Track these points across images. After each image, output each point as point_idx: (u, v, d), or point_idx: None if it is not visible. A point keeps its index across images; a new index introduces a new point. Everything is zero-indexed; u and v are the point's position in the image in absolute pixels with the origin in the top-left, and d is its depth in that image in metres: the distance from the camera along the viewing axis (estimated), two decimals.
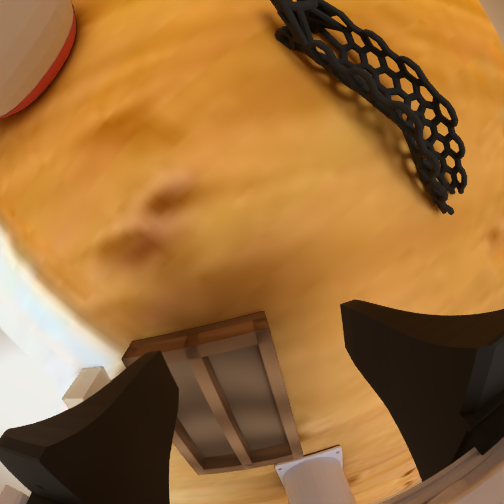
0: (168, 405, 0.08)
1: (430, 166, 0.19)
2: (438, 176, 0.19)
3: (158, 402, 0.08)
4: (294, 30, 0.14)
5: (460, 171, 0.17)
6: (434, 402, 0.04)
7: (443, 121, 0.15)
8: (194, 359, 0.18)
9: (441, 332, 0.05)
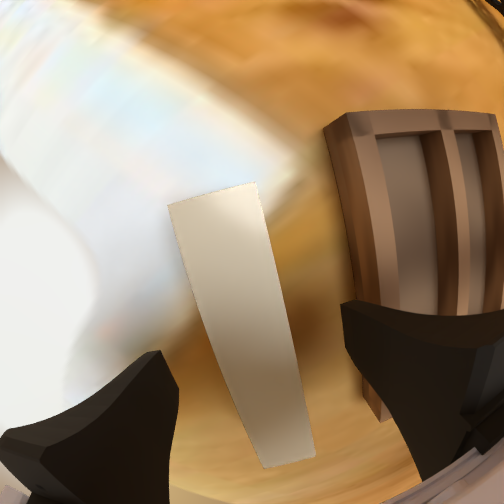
0: (168, 405, 0.08)
1: None
2: None
3: (158, 402, 0.08)
4: None
5: None
6: (434, 402, 0.04)
7: None
8: (447, 131, 0.09)
9: (441, 332, 0.05)
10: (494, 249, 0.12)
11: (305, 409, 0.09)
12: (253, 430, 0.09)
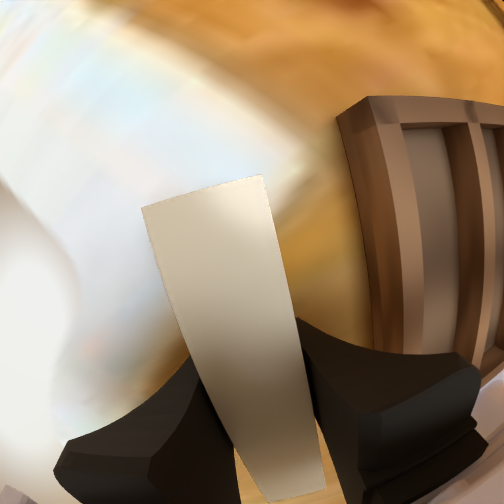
0: None
1: None
2: None
3: None
4: None
5: None
6: (342, 445, 0.04)
7: None
8: (473, 124, 0.07)
9: (352, 373, 0.05)
10: None
11: (317, 448, 0.07)
12: (257, 470, 0.07)
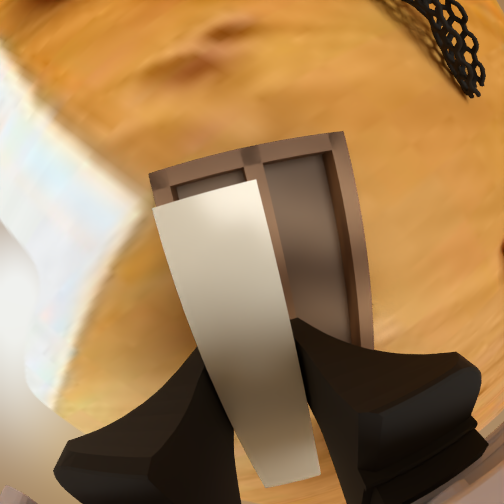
0: None
1: (452, 59, 0.15)
2: (460, 69, 0.15)
3: None
4: None
5: (478, 63, 0.13)
6: (342, 446, 0.04)
7: (456, 19, 0.11)
8: (252, 165, 0.14)
9: (352, 373, 0.05)
10: (347, 268, 0.17)
11: (311, 431, 0.08)
12: (254, 453, 0.08)
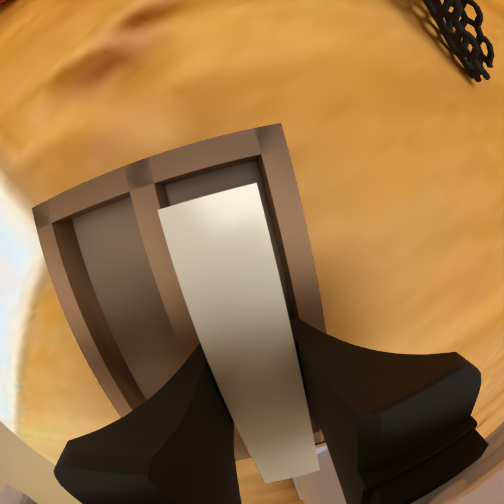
0: None
1: None
2: None
3: None
4: None
5: (484, 39, 0.09)
6: (342, 446, 0.04)
7: None
8: (141, 189, 0.09)
9: (352, 373, 0.05)
10: None
11: (309, 426, 0.08)
12: (254, 447, 0.08)
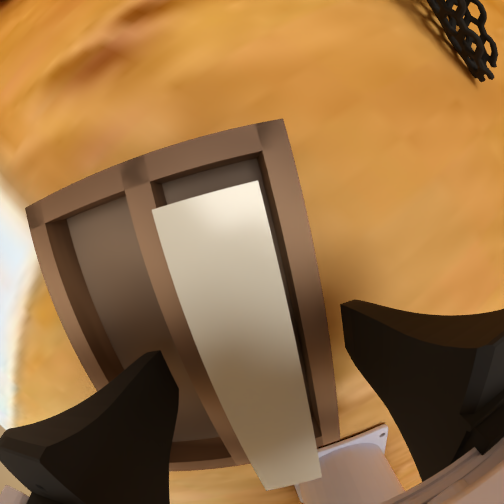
0: (168, 405, 0.08)
1: None
2: None
3: (158, 402, 0.08)
4: None
5: (487, 38, 0.08)
6: (434, 403, 0.04)
7: None
8: (136, 187, 0.09)
9: (441, 332, 0.05)
10: (299, 327, 0.11)
11: (312, 434, 0.08)
12: (255, 456, 0.08)
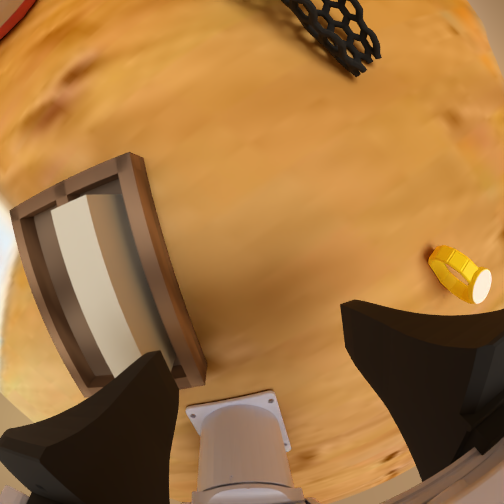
0: (168, 405, 0.08)
1: None
2: (345, 44, 0.16)
3: (158, 402, 0.08)
4: None
5: (366, 31, 0.14)
6: (434, 402, 0.04)
7: None
8: (61, 198, 0.14)
9: (441, 332, 0.05)
10: None
11: (137, 347, 0.13)
12: (108, 359, 0.13)
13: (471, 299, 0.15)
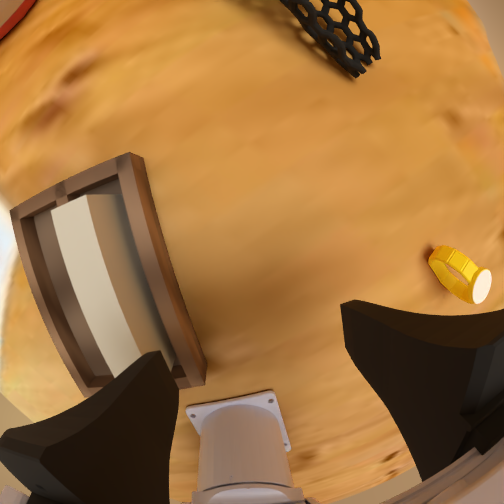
0: (168, 405, 0.08)
1: None
2: (344, 45, 0.16)
3: (158, 402, 0.08)
4: None
5: (365, 32, 0.14)
6: (434, 402, 0.04)
7: None
8: (61, 198, 0.14)
9: (441, 332, 0.05)
10: None
11: (137, 347, 0.13)
12: (108, 359, 0.13)
13: (471, 299, 0.15)
